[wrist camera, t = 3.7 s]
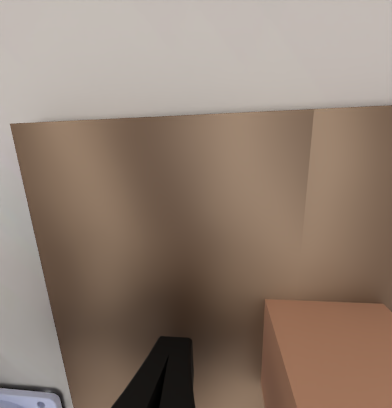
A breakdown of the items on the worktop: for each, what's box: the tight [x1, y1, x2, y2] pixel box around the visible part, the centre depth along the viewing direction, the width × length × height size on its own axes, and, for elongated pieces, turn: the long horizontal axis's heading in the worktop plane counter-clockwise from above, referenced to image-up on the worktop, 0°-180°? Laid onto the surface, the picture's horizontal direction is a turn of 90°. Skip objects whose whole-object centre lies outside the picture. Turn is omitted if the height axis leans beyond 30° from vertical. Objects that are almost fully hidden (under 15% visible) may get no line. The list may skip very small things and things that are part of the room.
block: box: [261, 299, 392, 408], centre depth 8 cm, size 4×4×4 cm
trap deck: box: [10, 105, 392, 408], centre depth 10 cm, size 25×19×2 cm
